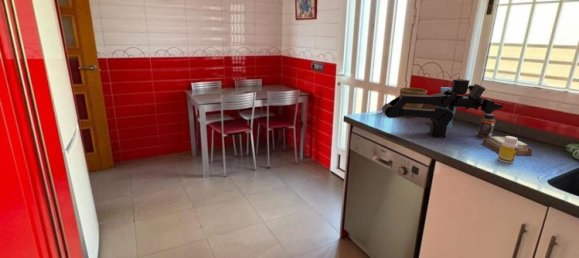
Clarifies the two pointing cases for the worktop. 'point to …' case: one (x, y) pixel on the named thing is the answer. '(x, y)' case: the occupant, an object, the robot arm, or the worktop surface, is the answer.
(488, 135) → the supplement bottle
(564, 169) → the worktop surface
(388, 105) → the robot arm
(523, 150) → the brick base
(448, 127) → the vase
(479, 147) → the worktop surface
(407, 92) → the plant pot
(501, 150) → the supplement bottle
